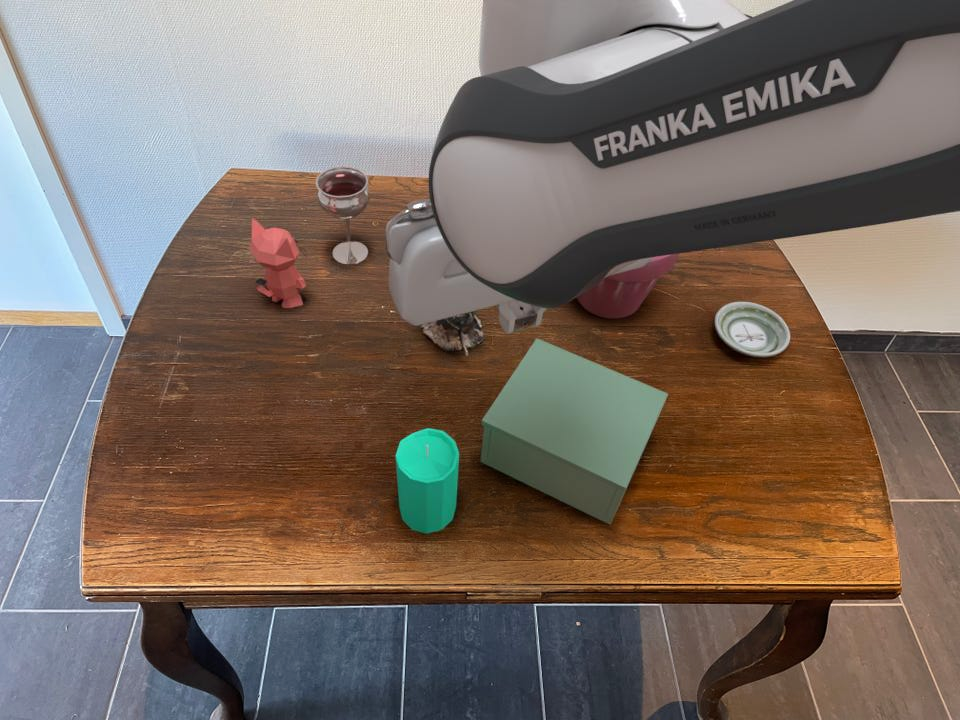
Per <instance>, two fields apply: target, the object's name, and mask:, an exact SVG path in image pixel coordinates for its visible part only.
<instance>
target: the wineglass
mask: <svg viewBox="0 0 960 720" xmlns="http://www.w3.org/2000/svg"><path fill="white" fill-rule="evenodd" d="M368 183H369V180H368V176H367V175H366V174H365V172H364V171H361V170H360V169H358V168H355V167H351V166H335V167H330V168H328V169H326V170H324V171H322V172H321V173H320V174H318V175H317V177H316V180H315V186H316V188H317V191H316V192H317V194H316V196H317V202H318V204H319V206H320V208H321V209H323V212H325V213H326V214H327V215H329V216H330V217H332V218H335V219H338V220H343V225H344V229H345V236H346V241H343V242H340V243H339V244H337V245H335V247H334V248H333V250H332V258H333V259H334V260H335V261H336V262H338V263H339V264H340V263H341V264H343V265H356V264H359V263H362V262H363V261H364V260H365V259H366V258H367V257H368V254H369V250H368V248H367V246H366V245H364V243H362V242H359V241H355V240H351V239H352V238H351V224H350V220H352V219H354V218H356V217H358V216H359V215H361V214H362V213H364V211H365V210H366V209H367V207H368V205H369V201H370V197H371V195H370V189H369V187H368Z"/></svg>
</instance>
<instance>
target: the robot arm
mask: <svg viewBox="0 0 960 720" xmlns="http://www.w3.org/2000/svg"><path fill="white" fill-rule="evenodd" d="M480 20H481V21H480V33H479V46H478V69H479V73H480V76H476V77H472V78H471V79H469V80H467V81H465V82H464V83H463V84H462V85H461V86H460V87H459V89H458V90H457V92H456V94H455V96H454V98H453V100H452V101H451V104H450V105H449V108H448V109H447V111H446V114H445V116H444V119H443V121H442V123H441V126H440V128H439V131H438V133H437V137H436V140H435V143H434V146H433V150H432V153H431V159H430V163H429V168H428V195H429V196H428V197H429V198H421V199H416V200H414V201H411V202H409V203H407V205H406V209H403V210H401V211H400V212H398V213H397V214H395V215H394V216H393V217H392V219H389V220H388V221H387V224H386V227H385V242H386V243H385V245H386V247H385V248H386V253H387V254H388V256H389V264H388V265H389V266H388V291H389V294H390V297H391V300H392V302H393V306H394V307H395V309H396V311H397V313H398V315H399V316H400V318H401V319H402V320H403V321H405V322H406V323H407V324H410V325H411V326H415V327H416V326H423V325H424V324H426V323H430V322H434V321H437V320H441V319H445V318H449V317H453V316H457V315H460V314H464V313H468V312H472V311H476V310H477V311H480V310H483V309H487V308H490V307H495V306H496V308H497V309H498V321H499V324H500V327H501V328H502V331H504V334H506V335H510V334H512V333H516V332H519V331H522V330H526V329H531V328H535V327H538V326H541V325H542V322H543V315H544V313H545V312H546V311H547V310H548V309H549V310H552V309H557V308H561V307H563V306H564V305H566V304H568V303H569V302H571V301H573V300H574V299H577V297H578V296H580V295H581V294H583V293H585V292H586V291H588V290H590V289H591V288H593V287H595V286H596V285H598V284H599V283H600V282H601V281H602V279H604V278H606V277H608V276H610V275H614V274H618V273H622V272H625V271H629V270H633V269H637V268H641V267H643V266H645V265H646V264H647V263H648V262H649V261H650V260H651V259H652V258H653V257H657V256H664V255H671V254H678V253H679V254H684V253H685V254H686V253H692V252H700V251H705V250H712V249H713V250H714V249H719V248H726V247H733V246H741V245H746V244H754V243H761V242H768V241H774V240H782V239H783V240H784V239H788V238H789V239H791V238H796V237H803V236H810V235H817V234H824V233H830V232H838V231H844V230H851V229H857V228H858V229H859V228H863V227H870V226H877V225H885V224H889V223H896V222H897V223H898V222H902V221H908V220H915V219H919V218H920V219H921V218H924V217H925V218H926V217H932V216H937V215H938V216H939V215H944V214H945V215H946V214H951V213H958V212H960V0H790V1H788V2H786V3H784V4H781V5H778V6H776V7H774V8H771V9H769V10H767V11H764V12H762V13H759V14H756V15H754V16H752V15H749V14H746V13H743V12H742V11H741V10H740V9H739V8H737V7H736V6H735V5H734V4H733V3H732V2H731V1H729V0H482V9H481V19H480ZM477 311H476V312H477Z"/></svg>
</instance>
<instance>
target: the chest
mask: <svg viewBox="0 0 960 720" xmlns="http://www.w3.org/2000/svg"><path fill="white" fill-rule="evenodd" d="M663 407H664V406H663ZM663 407H662V409H663ZM659 416H660V415H659ZM659 416H658V418H659ZM656 424H657V422H656V423H655V425H654V427H655V426H656ZM652 433H653V431H652V432H651V434H650V436H651V435H652ZM649 439H650V438H649ZM649 439H648V441H649ZM648 441H647V443H646V445H647V444H648ZM645 449H646V447H645V448H644V450H645ZM644 450H643V452H642V454H641V456H642V455H643V453H644ZM480 453H481V454H480V461H479V462H480V463H482V464H485V465H486V466H489V467H490V468H491V469H492V468H493V469H494V470H496V471H499V472H501V473H502V474H505V475H507V476H509V477H511V478H513V479H515V480H516V481H519V482H521V483H523V484H525V485H527V486H529V487H532V488H533V489H536V490H538V491H539V492H542V493H544V494H546V495H548V496H550V497H552V498H554V499H556V500H558V501H560V502H563V504H566V505H568V506H571V507H572V508H574V509H577V510H579V511H581V512H583V513H585V514H587V515H589V516H591V517H593V518H595V519H597V520H599V521H602V522H604V523H605V524H608V525H609V526H611V525H612V523H613V520H614V518H615V516H616V514H617V511H618V509H619V507H620V505H621V503H622V500H623V498H624V496H625V493H626V491H627V489H628V486H629V485H628V486H627V488H626V490H625V492H623V491H621V490H619V489H616V488H614V487H612V486H610V485H608V484H606V483H604V482H602V481H599V480H597V479H595V478H593V477H591V476H589V475H587V474H585V473H582V472H580V471H578V470H576V469H574V468H572V467H570V466H568V465H565V464H563V463H561V462H559V461H557V460H555V459H553V458H551V457H548V456H546V455H544V454H542V453H540V452H538V451H536V450H534V449H531V448H529V447H527V446H525V445H523V444H521V443H519V442H517V441H514V440H512V439H510V438H508V437H506V436H504V435H502V434H500V433H497V432H495V431H493V430H491V429H489V428H487V427H485V426H483V433H482V442H481V452H480ZM640 459H641V458H640ZM640 459H639V461H638V463H637V465H638V464H639V462H640ZM636 469H637V467H636V468H635V470H634V472H633V474H634V473H635V471H636ZM632 478H633V476H632V477H631V479H630V481H629V483H630V482H631V480H632Z"/></svg>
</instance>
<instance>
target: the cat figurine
mask: <svg viewBox="0 0 960 720" xmlns="http://www.w3.org/2000/svg"><path fill="white" fill-rule="evenodd" d="M298 246H299V245H298V240H297V239H294V237H293V236H292V234H291V233H290V231H288V230H286V229H283V228H281V227H280V228H279V227H269V228H265V227H264V226H262V225H261V224H260V223H259V222H258V221H257V220H256V219H255V218H254V217H251V241H250V245H249V248H248V250H249V251H250V253H251V254H252V257H254V259H255V261H256V262H257V263H258V264H260V265H261V267H263V268H266V270H265V273H264V279H263V278H258V279H256V280H255V281H254V282H255V283H256V284H258V287H257V288H256V290H257V291H259V292H260V293H262V294H263V295H265V296H266V297H268V298H271V302H275V303H277V302H279V301H281V300H282V303H281V307H282V308H283V309H293V308H296V307H300V306H303V305H304V304H305V303H306V302H307V300H308V298H307V297H306V295H304V294H303V293H301V292H300V290H303V289H305V287H306V286H307V284H306V281H305V279H304V278H303V276H302V275H301V273H300V272H299V270H298V269H297V267H296V265H295V263H296V262H297V260H298V258H299V255H300V251H302V250H303V252H302V254H304V256H305V257H306V258H308V256H307V255H309V254H308V252H307V250H305V249H304V248H302V247H301V246H299V247H298ZM304 252H305V253H307V255H306V254H305V253H304ZM265 285H266V288H265Z"/></svg>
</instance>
